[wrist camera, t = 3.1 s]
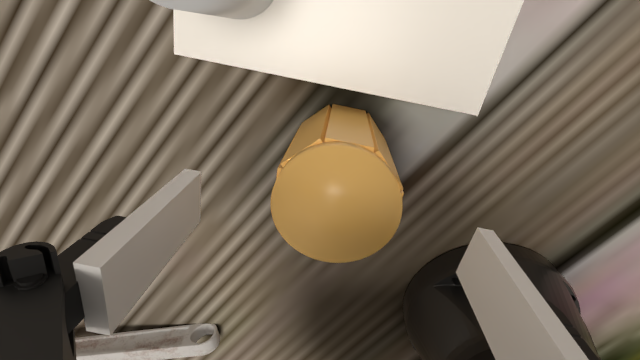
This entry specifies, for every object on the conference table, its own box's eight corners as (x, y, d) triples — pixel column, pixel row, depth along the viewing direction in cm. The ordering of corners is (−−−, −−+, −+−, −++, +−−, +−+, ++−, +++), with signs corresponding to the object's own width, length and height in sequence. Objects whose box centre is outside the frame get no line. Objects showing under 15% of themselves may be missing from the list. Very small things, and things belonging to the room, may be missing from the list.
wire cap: (370, 194, 27) (382, 273, 18) (291, 178, 27) (264, 249, 18) (393, 116, 24) (420, 163, 15) (304, 98, 24) (279, 134, 15)
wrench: (228, 313, 39) (-12, 338, 39) (225, 302, 38) (-20, 327, 38) (210, 377, 32) (-86, 407, 32) (205, 364, 31) (-98, 395, 31)
